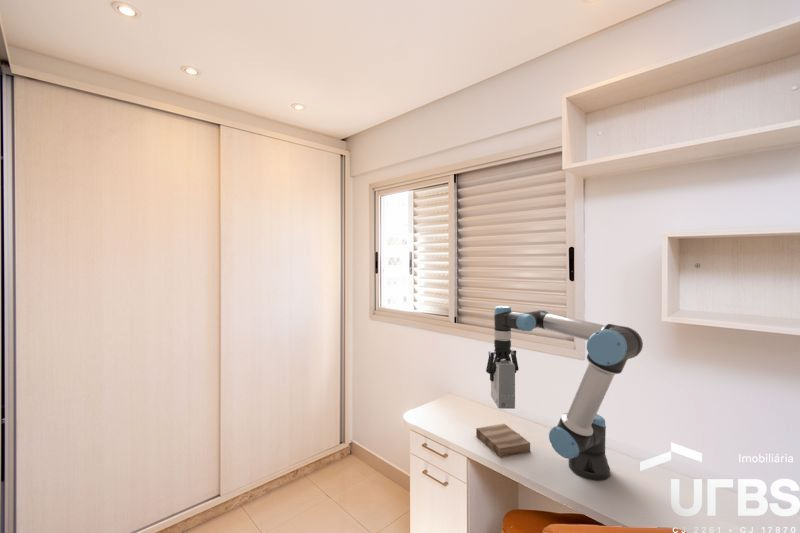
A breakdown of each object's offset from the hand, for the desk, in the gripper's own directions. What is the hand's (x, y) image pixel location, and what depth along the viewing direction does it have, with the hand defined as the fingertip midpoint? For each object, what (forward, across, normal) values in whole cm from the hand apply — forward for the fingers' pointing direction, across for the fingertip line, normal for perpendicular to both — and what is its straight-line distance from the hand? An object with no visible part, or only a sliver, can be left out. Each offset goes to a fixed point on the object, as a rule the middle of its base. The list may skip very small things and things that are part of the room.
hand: (502, 386), depth 167 cm
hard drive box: (+8, 0, 0) cm, 8 cm away
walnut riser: (+27, 0, 0) cm, 27 cm away
